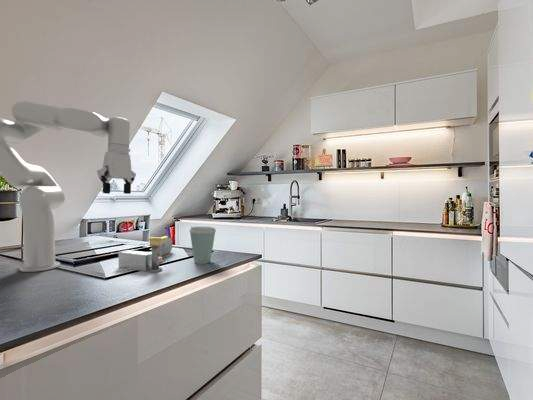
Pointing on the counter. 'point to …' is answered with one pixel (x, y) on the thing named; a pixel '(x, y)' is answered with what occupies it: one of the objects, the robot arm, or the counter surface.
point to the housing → (140, 260)
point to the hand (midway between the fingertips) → (117, 193)
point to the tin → (165, 247)
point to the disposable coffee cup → (202, 243)
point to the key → (158, 240)
